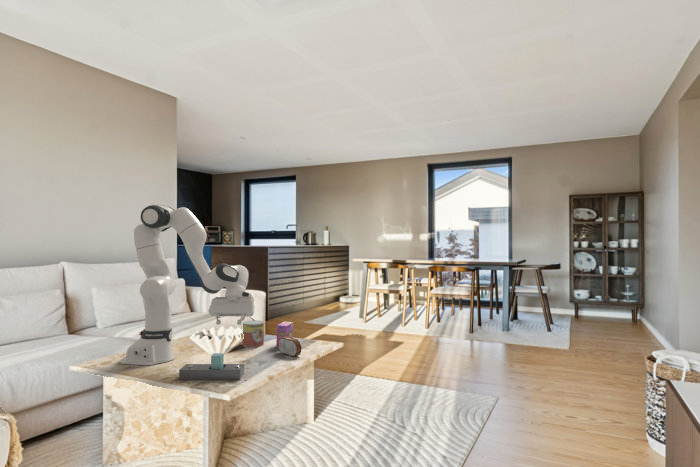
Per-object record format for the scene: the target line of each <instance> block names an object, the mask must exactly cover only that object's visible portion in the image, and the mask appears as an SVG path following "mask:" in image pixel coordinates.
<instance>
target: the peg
mask: <svg viewBox="0 0 700 467" xmlns="http://www.w3.org/2000/svg"><path fill="white" fill-rule="evenodd" d="M224 355H225V354H224V352H223V353H220V352H219V353H216V352H215V353H213V354H212V355H211V356H210V364H211V369H223V366H224V364H225V363H224V358H225V356H224Z"/></svg>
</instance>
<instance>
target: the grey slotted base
mask: <svg viewBox="0 0 700 467" xmlns="http://www.w3.org/2000/svg"><path fill="white" fill-rule="evenodd" d="M178 370H179V371H178V372H179V373H178V380H179V381H240V380H242V378H243V376H244V375H245V363H224V366H223V369H211V363H185V364H184V365H183V366H182V367H181V368H179V369H178Z"/></svg>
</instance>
